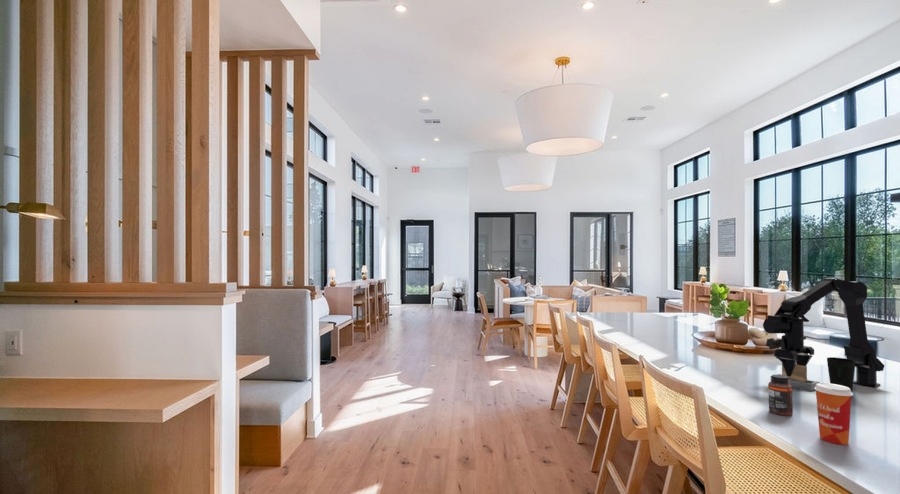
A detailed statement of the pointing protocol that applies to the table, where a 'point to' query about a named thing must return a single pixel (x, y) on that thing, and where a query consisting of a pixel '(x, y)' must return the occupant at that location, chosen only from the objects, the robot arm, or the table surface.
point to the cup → (841, 371)
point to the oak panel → (797, 373)
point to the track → (802, 384)
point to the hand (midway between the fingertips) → (794, 374)
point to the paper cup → (833, 412)
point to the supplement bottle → (780, 396)
